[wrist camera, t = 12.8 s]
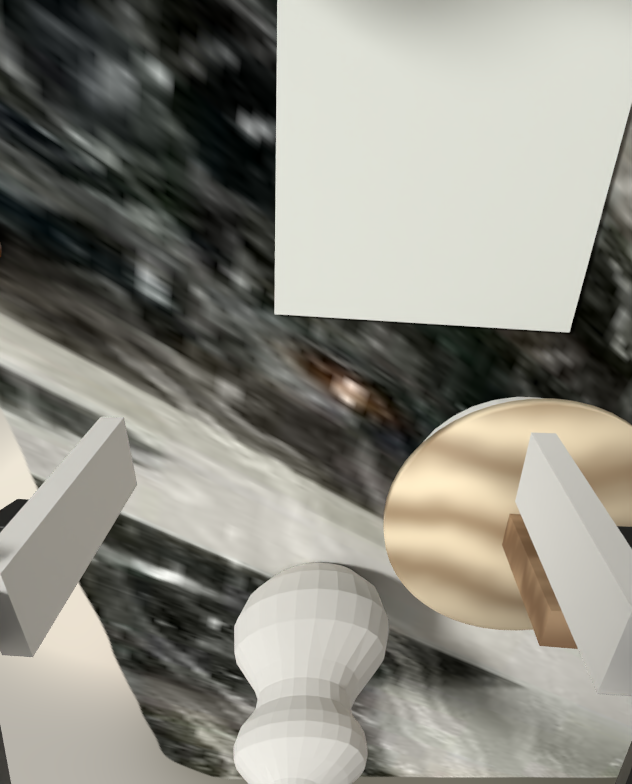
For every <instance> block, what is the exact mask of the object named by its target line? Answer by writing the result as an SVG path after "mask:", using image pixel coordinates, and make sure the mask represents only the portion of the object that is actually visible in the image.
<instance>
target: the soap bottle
mask: <svg viewBox="0 0 632 784" xmlns="http://www.w3.org/2000/svg"><path fill="white" fill-rule="evenodd" d="M388 635H389V619H388V617H387V614H386V612H385V609H384V607H383V604H382V601H381V599H380V596H379V594H378V592H377V590H376V588H375V586H374V585H372V584H371V583H370V582H368V581H367V580H366V579H364V578H363V577H361V576H360V575H358V574H357V573H355V572H354V571H352V570H351V569H349V568H346V567H344V566H342V565H336V564H331V563H306V564H301V565H297V566H293V567H291V568H288V569H286V570H283V571H282V572H280V573H278V574H276V575H275V576H273V577H272V578H271V579H269V580H268V581H267V582H265V583H264V584H263V585H261V586H260V587H259V588H258V589H257V590H255V591H254V592H253V593H252V594H251V595H250V597H249V599H248V601H247V603H246V605H245V606H244V608H243V610H242V612H241V614H240V616H239V617H238V620H237V622H236V624H235V626H234V638H235V657H236V662H237V665H238V666H239V668H240V669H241V671H242V672H243V674H244V675H245V677H246V678H247V680H248V682H249V683H250V685H251V686H252V688H253V689H254V691H255V693H256V696H257V699H258V701H257V705H256V710H255V711H254V712H253V714H252V715H251V716H250V717H249V718H248V720H247V721H246V722H245V723H244V724H243V725H242V727H241V729H240V731H239V734H238V737H237V739H236V742H235V745H234V762H235V766H236V769H237V770H238V772H239V773H240V774H241V776H242V777H243V778H244V779H245V780H246V781H247V782H248V784H352V783H353V782H354V781H355V780H356V779H357V778H358V777H359V776H360V775H361V774H362V772H363V770H364V769H365V765H366V760H367V744H366V739H365V734H364V731H363V730H362V728H361V726H360V724H359V723H358V722H357V720H356V719H355V718H354V717H353V715H352V714H351V707H352V705H353V703H354V701H355V699H356V697H357V696H358V694H359V693H360V692H361V690H362V689H363V688H364V686H365V685H366V684H367V682H368V681H369V680H370V678H371V677H372V676H373V674H374V673H375V672H376V670H377V669H378V667H379V666H380V664H381V663H382V661H383V660H384V656H385V651H386V645H387V640H388Z"/></svg>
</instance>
